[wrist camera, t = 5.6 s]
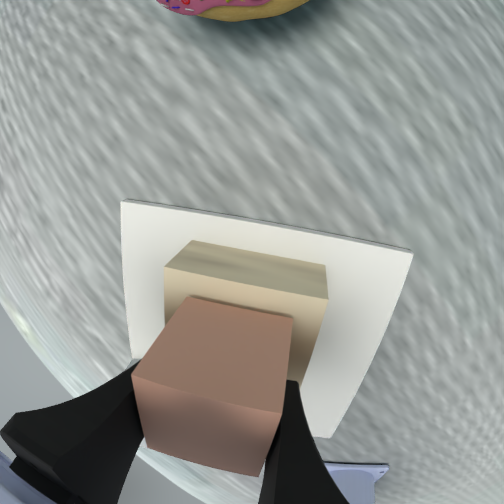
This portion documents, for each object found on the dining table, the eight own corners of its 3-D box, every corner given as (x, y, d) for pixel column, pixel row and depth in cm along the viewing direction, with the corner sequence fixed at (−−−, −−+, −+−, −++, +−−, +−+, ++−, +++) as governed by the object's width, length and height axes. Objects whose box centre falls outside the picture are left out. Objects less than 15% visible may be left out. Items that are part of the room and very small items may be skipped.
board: (330, 432, 21) (330, 438, 20) (141, 389, 22) (138, 394, 22) (410, 250, 15) (413, 254, 14) (126, 199, 16) (120, 201, 16)
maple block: (297, 366, 18) (293, 408, 15) (188, 342, 19) (167, 379, 15) (325, 264, 15) (328, 299, 12) (191, 239, 16) (163, 266, 13)
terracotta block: (273, 391, 14) (258, 477, 9) (185, 371, 14) (147, 447, 10) (292, 318, 12) (281, 413, 7) (186, 296, 13) (130, 374, 8)
